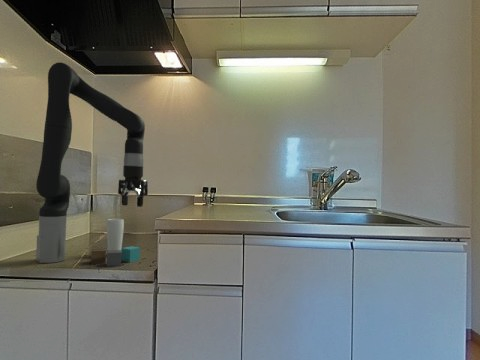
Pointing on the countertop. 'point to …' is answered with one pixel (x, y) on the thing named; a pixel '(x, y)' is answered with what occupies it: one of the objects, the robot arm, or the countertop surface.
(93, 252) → the walnut block
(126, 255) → the teal block
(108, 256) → the charcoal block
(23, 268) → the countertop surface
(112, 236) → the drinking glass
